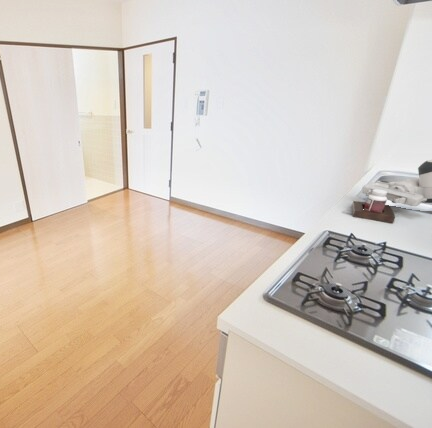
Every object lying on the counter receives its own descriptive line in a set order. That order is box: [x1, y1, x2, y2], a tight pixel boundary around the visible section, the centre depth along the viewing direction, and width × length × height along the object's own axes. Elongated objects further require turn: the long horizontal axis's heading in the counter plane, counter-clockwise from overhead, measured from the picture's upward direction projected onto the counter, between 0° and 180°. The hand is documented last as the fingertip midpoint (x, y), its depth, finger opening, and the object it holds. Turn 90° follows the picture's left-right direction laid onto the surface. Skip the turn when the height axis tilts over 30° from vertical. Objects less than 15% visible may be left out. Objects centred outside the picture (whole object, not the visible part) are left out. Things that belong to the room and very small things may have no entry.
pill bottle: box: [364, 189, 388, 212], centre depth 122 cm, size 6×6×11 cm
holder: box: [351, 200, 396, 224], centre depth 124 cm, size 13×13×3 cm
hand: (380, 197), depth 122 cm, fingers open, 8 cm apart
